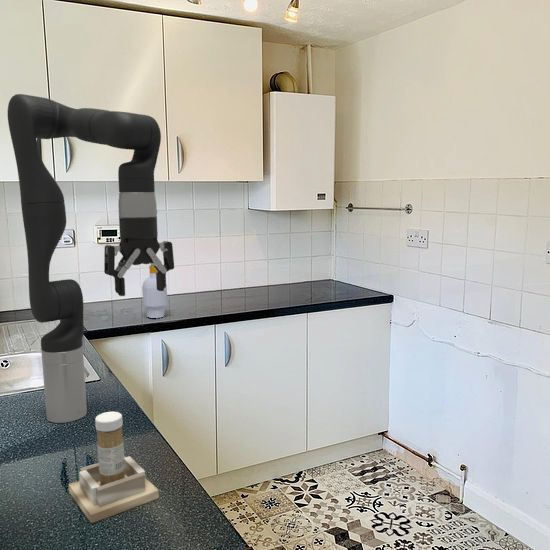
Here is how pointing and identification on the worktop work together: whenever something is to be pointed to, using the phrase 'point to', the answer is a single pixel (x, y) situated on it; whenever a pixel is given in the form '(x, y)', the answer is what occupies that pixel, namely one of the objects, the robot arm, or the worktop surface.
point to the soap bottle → (153, 296)
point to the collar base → (112, 491)
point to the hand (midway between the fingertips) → (141, 293)
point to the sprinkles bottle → (110, 447)
